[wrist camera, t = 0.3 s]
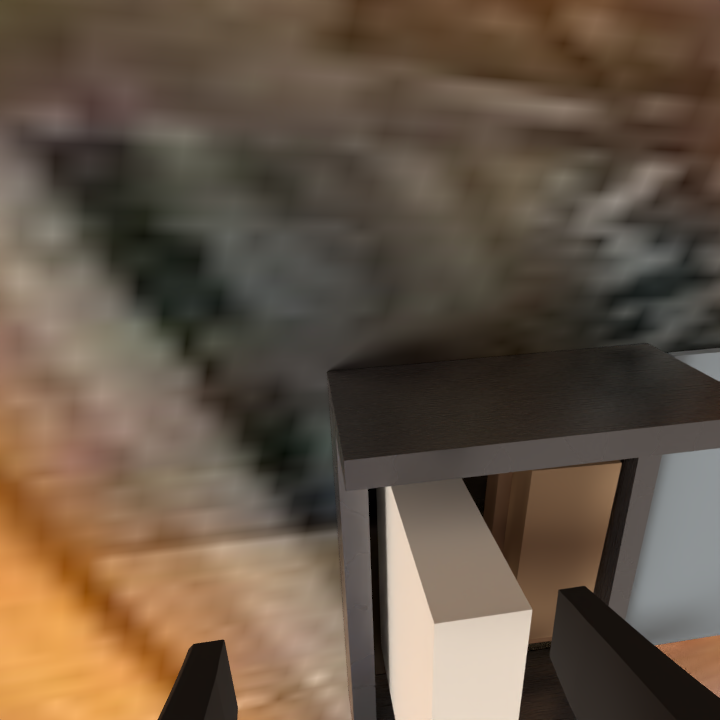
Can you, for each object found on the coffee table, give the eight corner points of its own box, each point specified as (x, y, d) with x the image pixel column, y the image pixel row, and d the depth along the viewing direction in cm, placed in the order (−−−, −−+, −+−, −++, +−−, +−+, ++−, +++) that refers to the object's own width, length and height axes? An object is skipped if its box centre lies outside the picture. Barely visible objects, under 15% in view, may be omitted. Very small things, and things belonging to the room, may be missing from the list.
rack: (587, 655, 28) (663, 780, 22) (348, 693, 26) (365, 837, 21) (647, 343, 21) (779, 413, 15) (327, 371, 19) (343, 460, 14)
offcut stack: (550, 613, 27) (580, 667, 24) (468, 623, 26) (490, 679, 23) (587, 409, 22) (630, 446, 19) (489, 416, 22) (519, 456, 19)
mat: (724, 626, 28) (730, 633, 28) (606, 645, 27) (610, 652, 27) (819, 338, 22) (828, 341, 21) (667, 352, 21) (674, 356, 21)
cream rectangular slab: (430, 637, 26) (499, 869, 17) (380, 644, 25) (427, 884, 17) (434, 428, 21) (532, 609, 13) (374, 434, 21) (434, 624, 12)
